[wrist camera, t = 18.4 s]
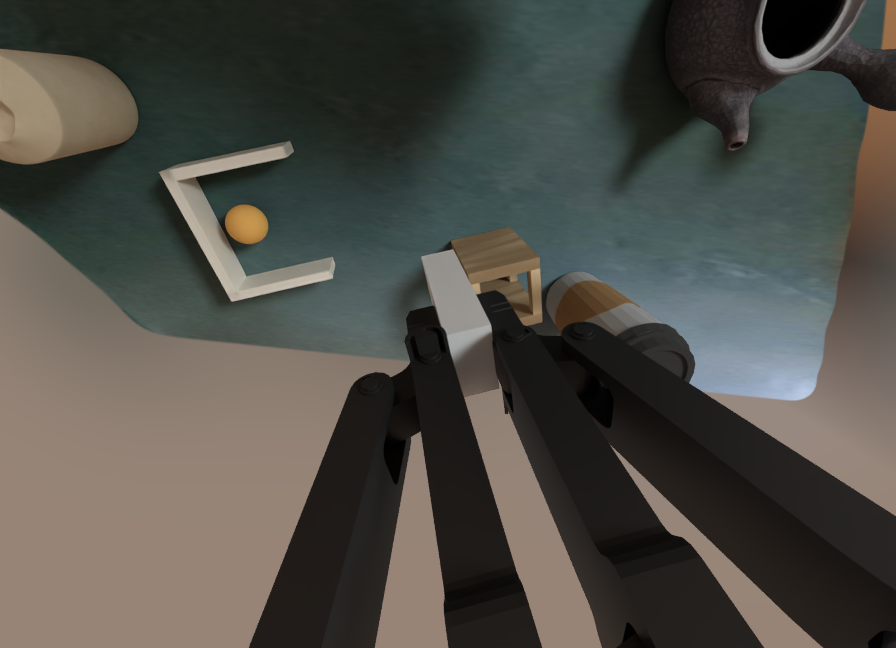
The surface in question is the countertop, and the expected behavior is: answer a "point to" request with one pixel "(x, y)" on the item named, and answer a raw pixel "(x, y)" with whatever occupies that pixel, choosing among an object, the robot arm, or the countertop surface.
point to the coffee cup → (618, 320)
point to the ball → (246, 224)
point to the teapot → (767, 54)
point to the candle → (60, 107)
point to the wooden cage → (503, 269)
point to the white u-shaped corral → (213, 237)
